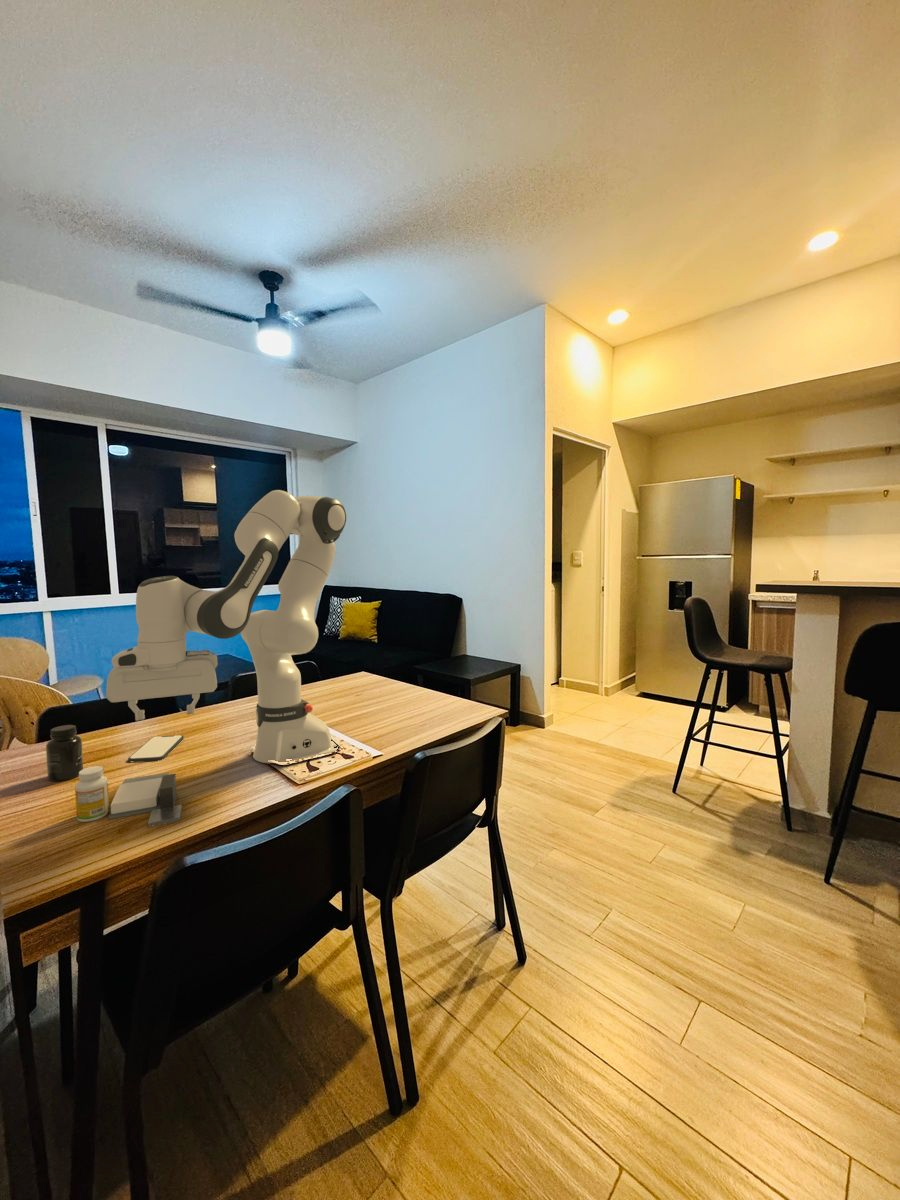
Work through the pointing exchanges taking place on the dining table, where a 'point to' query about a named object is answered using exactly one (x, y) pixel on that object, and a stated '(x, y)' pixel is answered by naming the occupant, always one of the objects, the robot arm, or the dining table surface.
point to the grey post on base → (166, 803)
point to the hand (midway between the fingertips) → (166, 716)
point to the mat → (142, 809)
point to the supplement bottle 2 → (91, 794)
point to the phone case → (156, 748)
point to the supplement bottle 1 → (64, 753)
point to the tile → (136, 796)
